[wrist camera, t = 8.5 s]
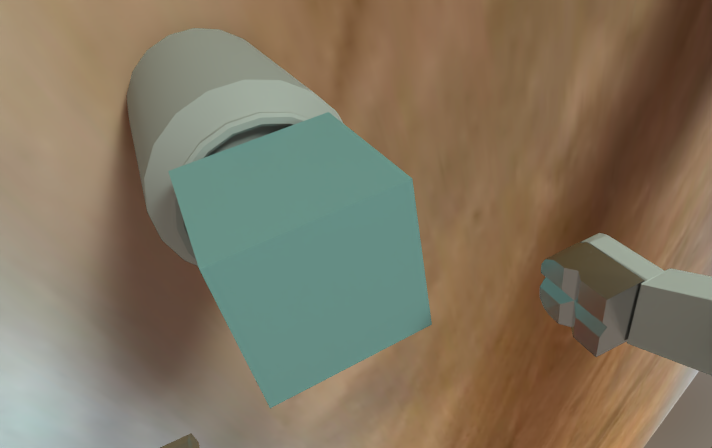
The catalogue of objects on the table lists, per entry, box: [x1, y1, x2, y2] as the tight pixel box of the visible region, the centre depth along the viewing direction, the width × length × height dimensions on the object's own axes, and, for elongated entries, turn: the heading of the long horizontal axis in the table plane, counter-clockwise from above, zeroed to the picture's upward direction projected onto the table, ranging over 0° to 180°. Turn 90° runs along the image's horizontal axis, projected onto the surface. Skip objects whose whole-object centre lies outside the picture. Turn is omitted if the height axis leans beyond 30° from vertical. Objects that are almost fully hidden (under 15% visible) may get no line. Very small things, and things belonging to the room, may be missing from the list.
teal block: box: [168, 112, 432, 408], centre depth 14 cm, size 5×5×5 cm
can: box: [127, 28, 343, 266], centre depth 20 cm, size 8×8×12 cm
